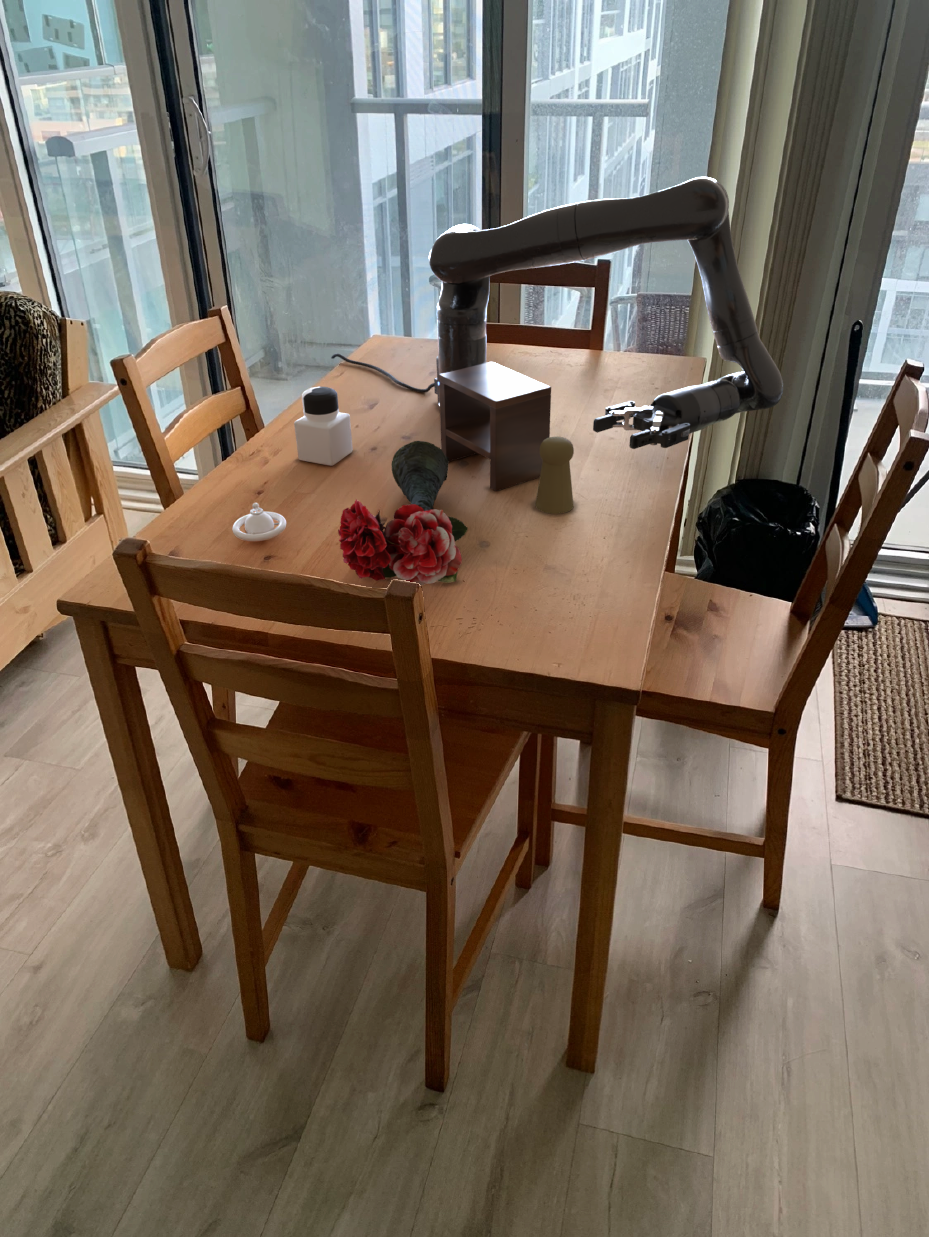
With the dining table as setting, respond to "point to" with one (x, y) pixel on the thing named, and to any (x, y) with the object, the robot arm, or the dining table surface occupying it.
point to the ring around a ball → (259, 525)
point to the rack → (495, 420)
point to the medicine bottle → (322, 428)
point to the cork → (555, 476)
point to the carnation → (406, 525)
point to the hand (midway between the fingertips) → (612, 434)
